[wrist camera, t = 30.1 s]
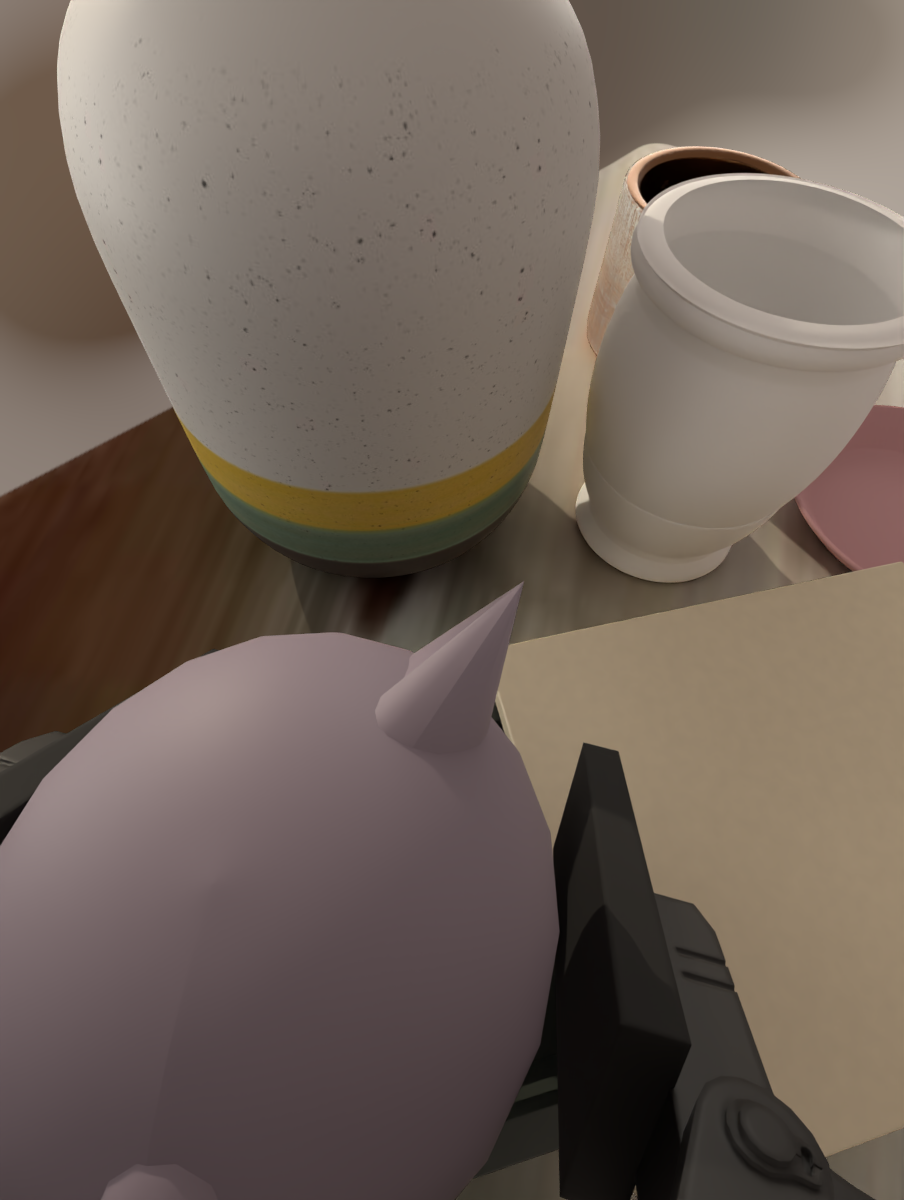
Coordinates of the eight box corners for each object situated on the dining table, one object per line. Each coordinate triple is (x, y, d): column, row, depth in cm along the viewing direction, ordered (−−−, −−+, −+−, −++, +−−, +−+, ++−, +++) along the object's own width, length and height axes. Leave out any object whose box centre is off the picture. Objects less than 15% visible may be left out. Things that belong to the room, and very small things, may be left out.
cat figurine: (319, 717, 18) (165, 402, 8) (565, 833, 16) (795, 639, 6) (128, 1036, 14) (-764, 1301, 3) (433, 1227, 12) (443, 2655, 2)
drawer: (36, 1282, 17) (-175, 1460, 11) (68, 834, 23) (-57, 795, 17) (662, 1072, 20) (759, 1125, 14) (545, 722, 26) (578, 656, 20)
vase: (568, 583, 30) (858, -185, 10) (231, 639, 28) (-317, -198, 8) (490, 367, 39) (558, -297, 18) (225, 398, 37) (-45, -318, 16)
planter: (771, 344, 41) (858, 192, 33) (692, 425, 37) (768, 273, 28) (639, 279, 44) (686, 126, 36) (552, 346, 40) (583, 190, 32)
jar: (750, 475, 35) (941, 195, 22) (746, 625, 30) (993, 376, 17) (572, 436, 36) (652, 148, 23) (538, 574, 31) (617, 304, 18)
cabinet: (572, 1118, 20) (656, 1222, 12) (469, 732, 26) (483, 648, 19) (966, 985, 22) (1237, 1004, 15) (780, 660, 29) (902, 560, 21)
